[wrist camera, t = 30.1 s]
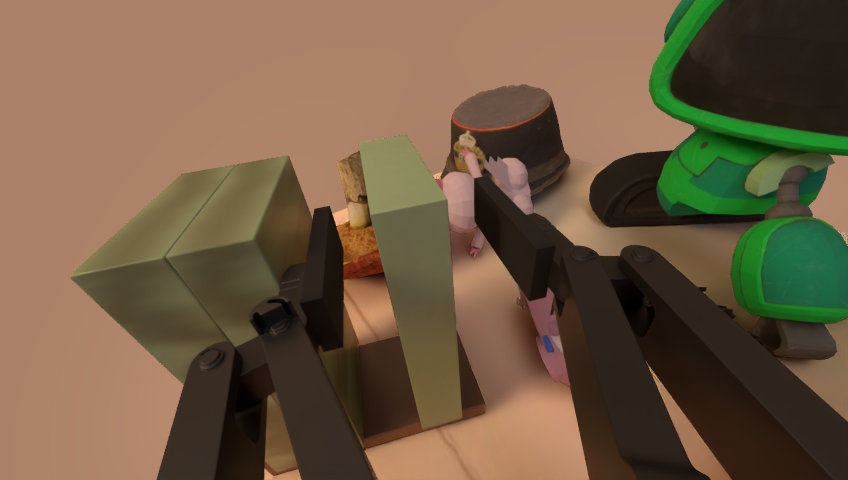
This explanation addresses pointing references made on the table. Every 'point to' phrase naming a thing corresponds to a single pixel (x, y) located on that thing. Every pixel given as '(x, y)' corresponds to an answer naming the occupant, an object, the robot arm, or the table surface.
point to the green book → (416, 271)
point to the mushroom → (357, 223)
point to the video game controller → (547, 335)
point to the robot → (751, 155)
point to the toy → (461, 192)
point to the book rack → (244, 293)
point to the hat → (509, 133)
